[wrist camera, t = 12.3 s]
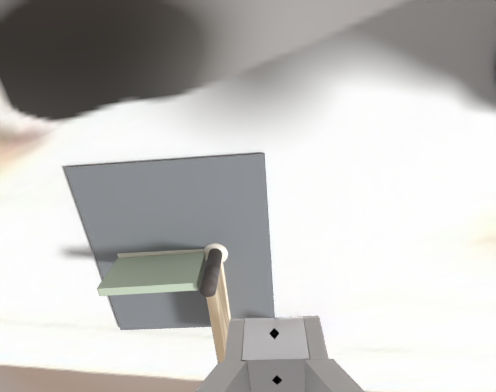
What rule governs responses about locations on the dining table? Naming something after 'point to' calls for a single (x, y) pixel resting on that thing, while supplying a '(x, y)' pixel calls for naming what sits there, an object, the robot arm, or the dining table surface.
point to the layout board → (181, 231)
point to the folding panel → (153, 274)
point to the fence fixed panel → (216, 301)
